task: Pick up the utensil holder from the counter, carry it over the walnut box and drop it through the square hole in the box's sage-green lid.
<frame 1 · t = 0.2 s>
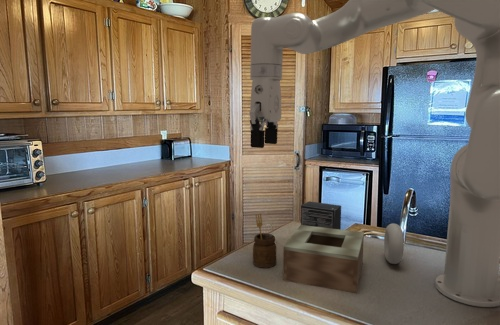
hand: (264, 145, 88), 30 cm above the counter, fingers open, 9 cm apart
donut: (392, 263, 90), on the counter
utensil holder: (264, 263, 90), on the counter
drop box: (324, 270, 86), on the counter
small box: (320, 239, 107), on the counter
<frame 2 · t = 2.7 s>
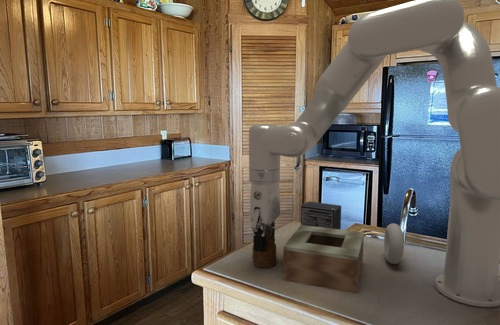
hand: (264, 245, 90), 5 cm above the counter, fingers closed on utensil holder, 5 cm apart
utensil holder: (264, 263, 90), on the counter, touching gripper
everything else where it was.
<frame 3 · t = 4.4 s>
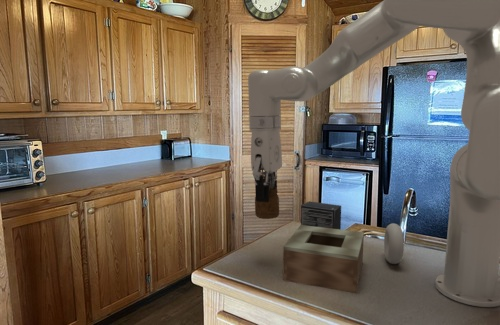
hand: (266, 197, 88), 17 cm above the counter, fingers closed on utensil holder, 5 cm apart
utensil holder: (267, 216, 88), point 12 cm above the counter, touching gripper
everything else where it was.
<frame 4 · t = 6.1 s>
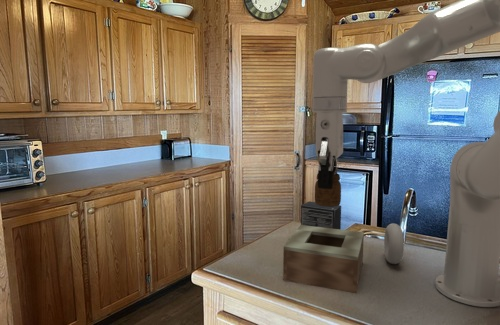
hand: (327, 184, 83), 21 cm above the counter, fingers closed on utensil holder, 5 cm apart
utensil holder: (327, 204, 83), point 16 cm above the counter, touching gripper
everything else where it was.
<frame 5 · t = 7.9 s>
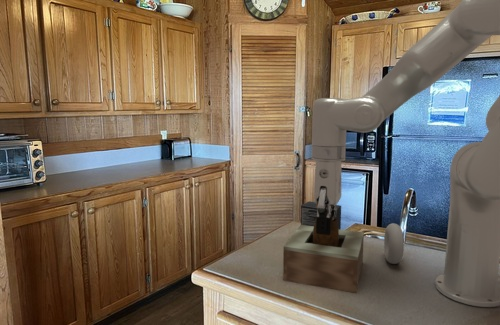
hand: (325, 228, 84), 10 cm above the counter, fingers closed on utensil holder, 5 cm apart
utensil holder: (324, 247, 85), point 6 cm above the counter, touching gripper
everything else where it was.
when the fingers open (9 cm above the counter, at t = 9.4 s): utensil holder drops 4 cm, resting in drop box.
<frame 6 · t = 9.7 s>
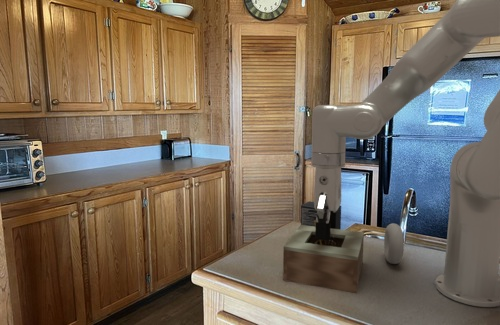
hand: (325, 233, 84), 9 cm above the counter, fingers open, 8 cm apart
utensil holder: (325, 272, 85), resting in drop box
everything else where it was.
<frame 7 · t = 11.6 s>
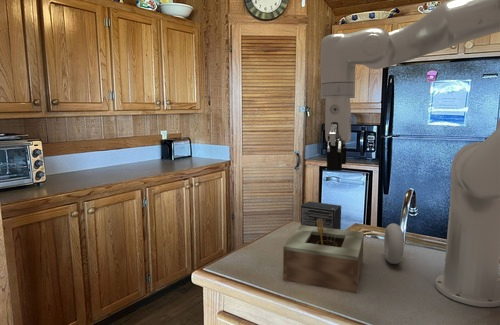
hand: (336, 166, 83), 25 cm above the counter, fingers open, 9 cm apart
nothing on the counter moved.
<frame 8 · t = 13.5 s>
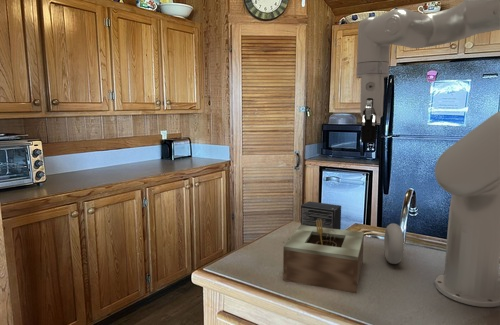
hand: (369, 141, 90), 30 cm above the counter, fingers open, 9 cm apart
nothing on the counter moved.
at the end: utensil holder inside the target area on the drop box (0.4 cm from its centre), point 0.0 cm above the drop box's base; the gripper is holding nothing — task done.
